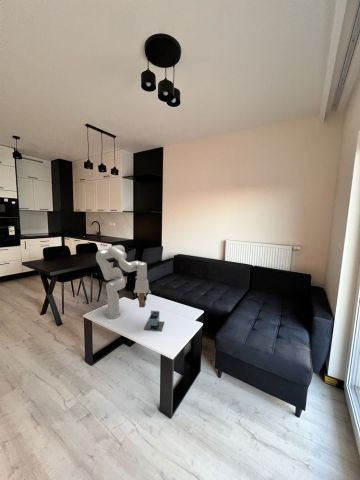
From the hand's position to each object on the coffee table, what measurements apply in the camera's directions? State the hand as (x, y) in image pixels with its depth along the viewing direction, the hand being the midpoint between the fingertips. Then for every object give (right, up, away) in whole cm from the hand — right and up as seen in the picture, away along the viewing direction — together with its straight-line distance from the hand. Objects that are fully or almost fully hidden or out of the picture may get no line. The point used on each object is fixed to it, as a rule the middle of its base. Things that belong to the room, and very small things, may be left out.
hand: (142, 300), depth 154 cm
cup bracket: (+9, -22, +3) cm, 24 cm away
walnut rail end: (0, -5, +1) cm, 5 cm away
